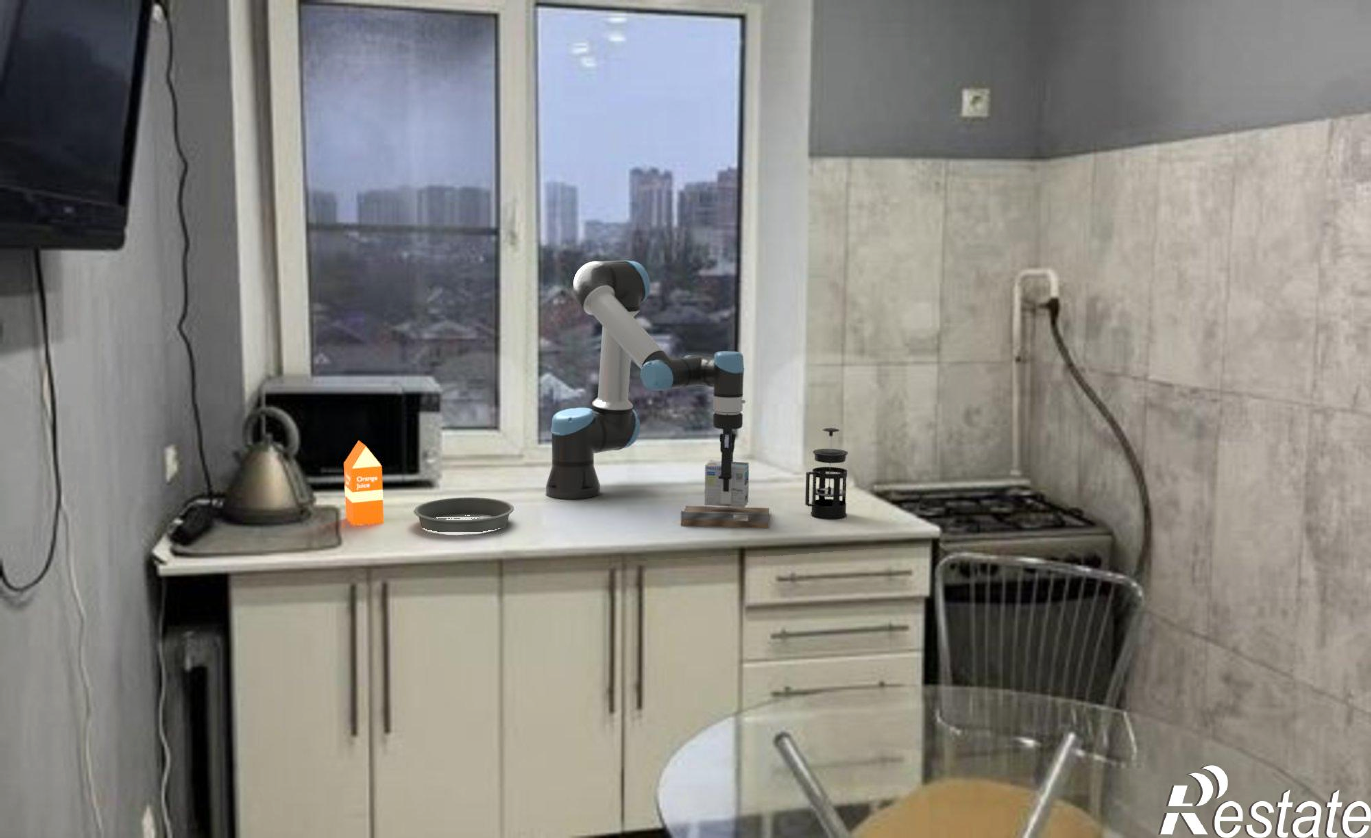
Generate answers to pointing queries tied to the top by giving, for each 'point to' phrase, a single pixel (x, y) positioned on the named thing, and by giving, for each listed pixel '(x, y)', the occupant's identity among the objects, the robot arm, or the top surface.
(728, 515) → the shelf board
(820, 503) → the french press
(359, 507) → the orange juice
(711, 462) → the light bulb box
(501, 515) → the cake pan
